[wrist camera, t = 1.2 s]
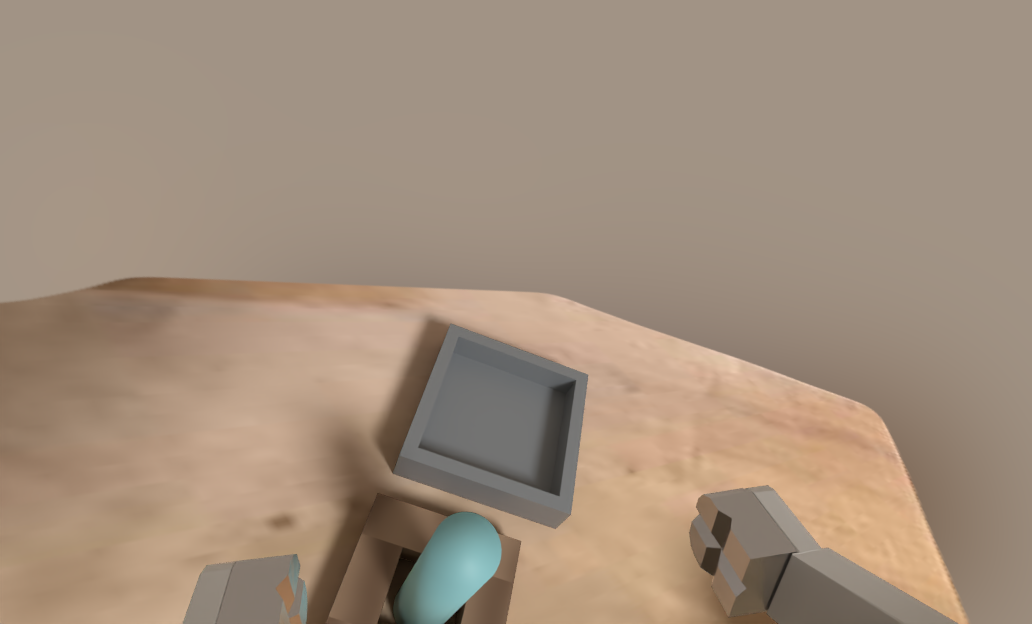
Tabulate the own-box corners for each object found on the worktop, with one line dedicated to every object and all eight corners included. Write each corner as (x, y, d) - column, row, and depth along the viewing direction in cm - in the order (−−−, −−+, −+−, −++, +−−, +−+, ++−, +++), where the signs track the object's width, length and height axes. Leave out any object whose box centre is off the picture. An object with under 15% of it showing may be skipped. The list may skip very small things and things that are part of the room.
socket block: (304, 678, 35) (305, 672, 33) (373, 504, 43) (377, 493, 41) (476, 729, 36) (486, 726, 34) (511, 550, 44) (521, 541, 42)
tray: (392, 473, 45) (399, 455, 43) (443, 343, 56) (450, 323, 53) (555, 528, 47) (570, 514, 44) (574, 392, 57) (588, 374, 55)
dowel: (385, 628, 38) (421, 574, 28) (404, 571, 41) (443, 502, 31) (438, 645, 38) (492, 597, 28) (453, 586, 41) (507, 524, 31)
